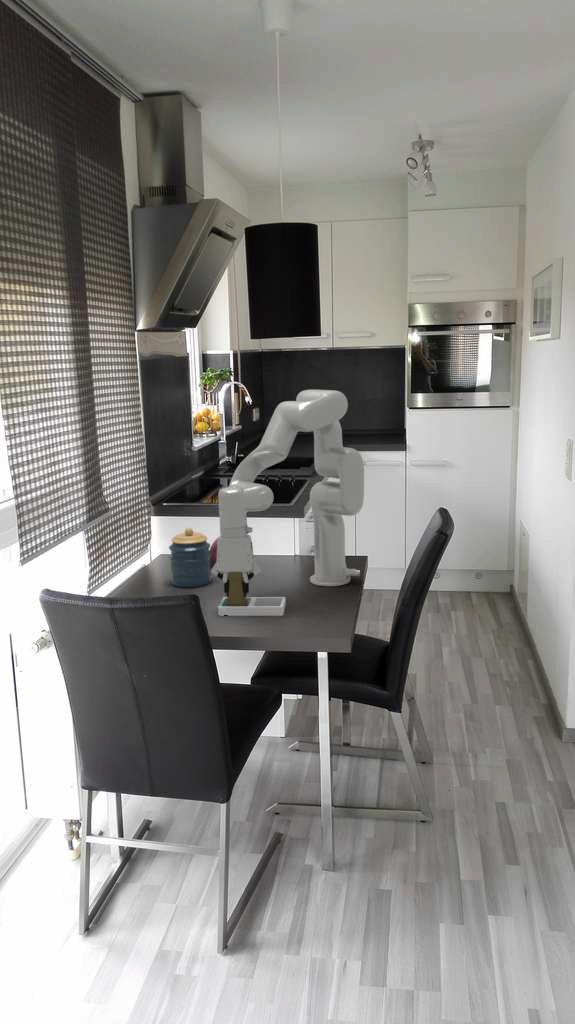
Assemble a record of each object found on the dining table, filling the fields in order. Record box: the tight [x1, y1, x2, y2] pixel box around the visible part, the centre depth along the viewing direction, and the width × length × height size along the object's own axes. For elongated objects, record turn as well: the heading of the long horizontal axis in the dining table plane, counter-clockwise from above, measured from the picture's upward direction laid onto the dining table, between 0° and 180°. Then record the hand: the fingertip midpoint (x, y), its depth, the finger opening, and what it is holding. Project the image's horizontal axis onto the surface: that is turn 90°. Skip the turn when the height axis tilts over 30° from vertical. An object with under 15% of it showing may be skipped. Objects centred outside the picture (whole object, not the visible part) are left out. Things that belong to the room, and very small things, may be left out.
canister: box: [168, 527, 213, 588], centre depth 261 cm, size 13×13×18 cm
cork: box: [226, 572, 248, 606], centre depth 232 cm, size 6×6×11 cm
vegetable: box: [209, 537, 218, 570], centre depth 277 cm, size 10×10×15 cm
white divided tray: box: [217, 596, 287, 617], centre depth 232 cm, size 18×9×2 cm, turn 85°
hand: (236, 594), depth 232 cm, fingers closed on cork, 4 cm apart
